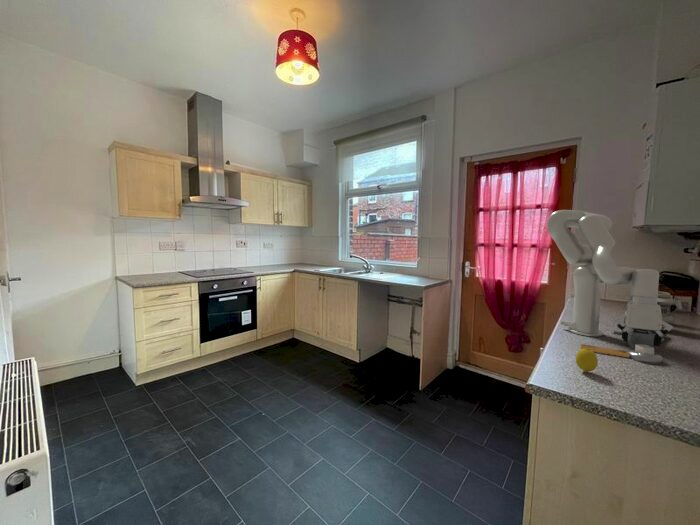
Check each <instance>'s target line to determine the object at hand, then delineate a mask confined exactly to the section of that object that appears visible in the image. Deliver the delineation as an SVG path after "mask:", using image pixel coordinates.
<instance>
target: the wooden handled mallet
mask: <svg viewBox="0 0 700 525" xmlns="http://www.w3.org/2000/svg"><path fill="white" fill-rule="evenodd" d="M579 345H580V346H579V347H580V350H581V349H586V348H588V349H589V350H591V351H593V352H594V353H595V352H598V353H597V354H601V353H604V354H603V355H607V354H611V355H610V356H613V355H616V356H615V357H619V356H623V357H622V358H625V357H628V358H627V359H630V360H632V359H633V361H635V362H639V363H643V364H649V365H662V364H663V356H662V355H661V354H658V353H655V347H654V346H653V347H650V346H647V345H636V344H635V349H633V348H629V349H627V350H622V349H616V348H609V347H604V346H597V345H590V344H585V343H584V344H583V343H580V344H579Z"/></svg>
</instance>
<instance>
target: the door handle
mask: <svg viewBox="0 0 700 525" xmlns="http://www.w3.org/2000/svg"><path fill="white" fill-rule="evenodd" d="M631 329H633V328H631ZM649 331H650V332H651V333H652V334H654V336H655V334H656V332H655V331H651V330H649ZM660 331H661V330H660ZM616 334H617V336H621V335H622V331H618V330H613V335H616ZM667 336H668V333H667V334H665V335H663V336H662V338H661V344H662V342H663V341H664V340H665V338H666V337H667ZM653 346H656V345H655V344H653Z"/></svg>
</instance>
